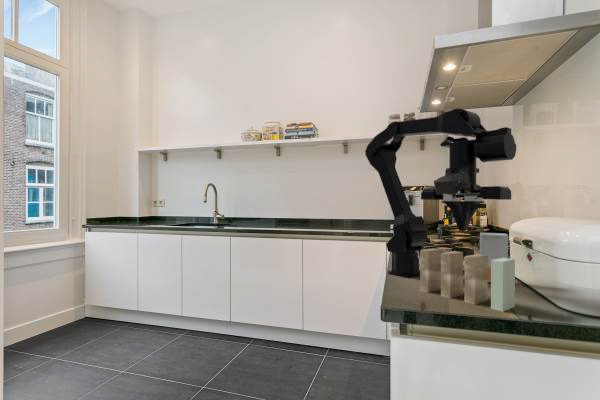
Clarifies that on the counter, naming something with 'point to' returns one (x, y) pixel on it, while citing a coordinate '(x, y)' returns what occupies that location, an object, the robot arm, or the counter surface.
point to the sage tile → (502, 284)
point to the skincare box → (493, 248)
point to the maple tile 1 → (430, 270)
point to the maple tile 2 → (451, 274)
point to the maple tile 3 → (475, 279)
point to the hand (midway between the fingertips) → (462, 231)
